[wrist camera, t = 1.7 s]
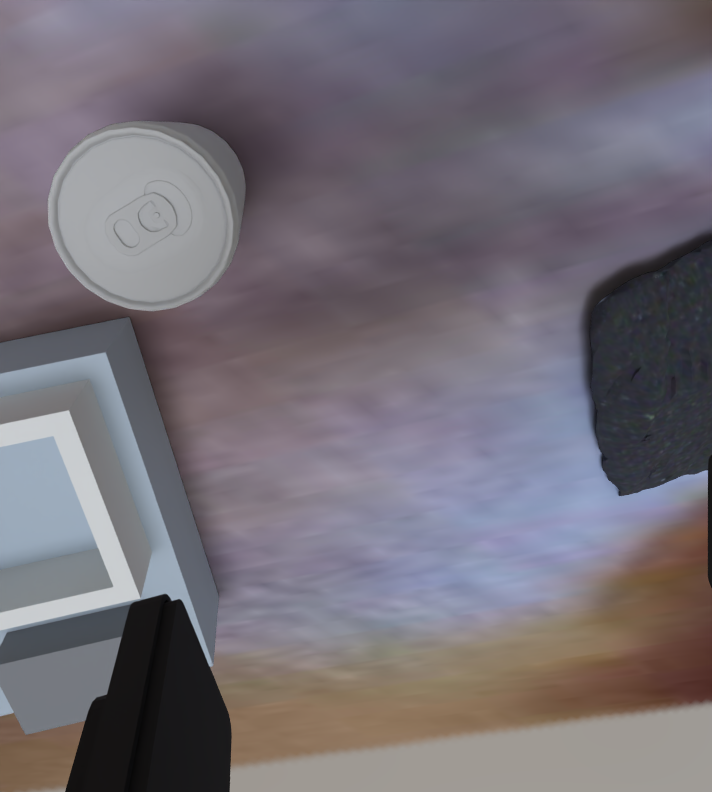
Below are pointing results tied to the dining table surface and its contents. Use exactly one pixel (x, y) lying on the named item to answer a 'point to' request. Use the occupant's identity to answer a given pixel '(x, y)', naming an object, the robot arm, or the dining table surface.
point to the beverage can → (148, 212)
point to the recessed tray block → (85, 519)
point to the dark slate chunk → (655, 374)
